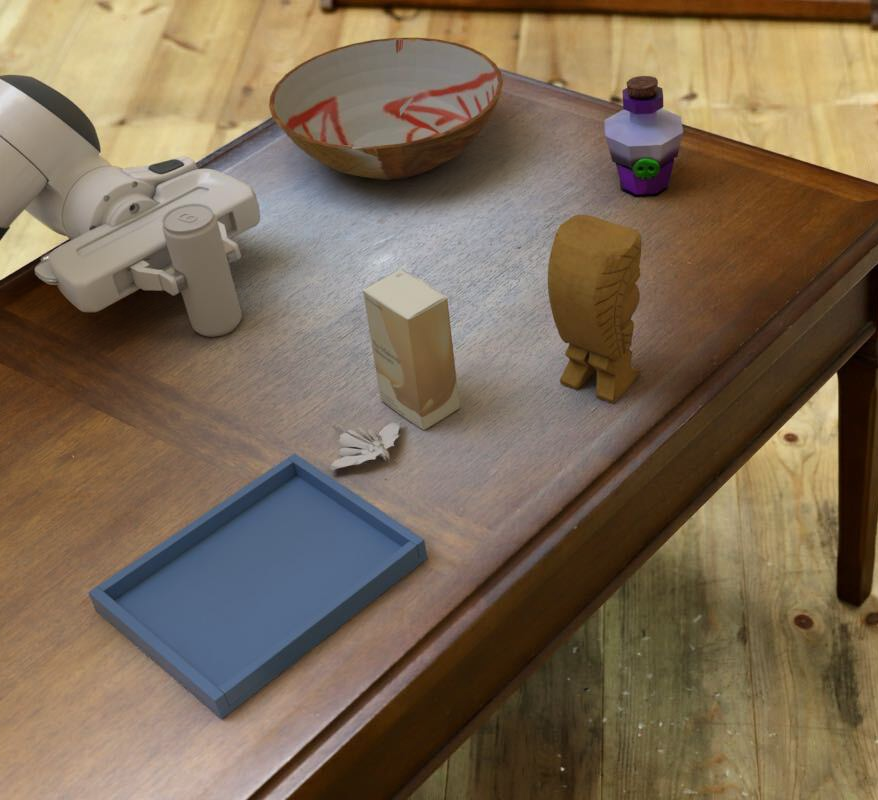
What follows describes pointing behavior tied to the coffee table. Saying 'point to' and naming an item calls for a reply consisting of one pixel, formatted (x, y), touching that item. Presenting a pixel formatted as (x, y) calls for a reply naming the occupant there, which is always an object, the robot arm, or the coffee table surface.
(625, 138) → the potion bottle
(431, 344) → the cosmetic box
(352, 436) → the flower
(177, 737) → the coffee table surface
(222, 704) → the tray
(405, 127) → the bowl
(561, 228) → the figurine
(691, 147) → the coffee table surface
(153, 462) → the coffee table surface
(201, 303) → the beverage can
